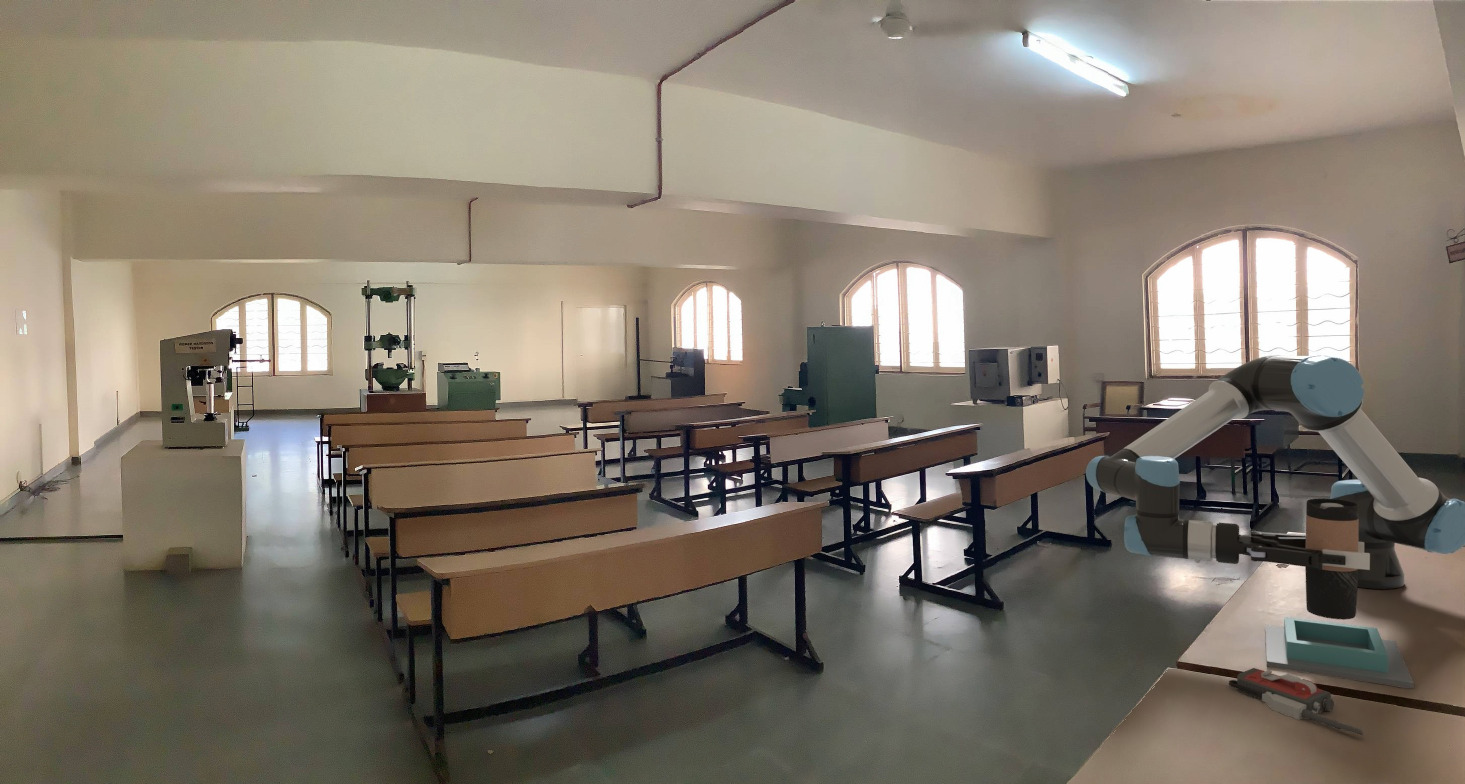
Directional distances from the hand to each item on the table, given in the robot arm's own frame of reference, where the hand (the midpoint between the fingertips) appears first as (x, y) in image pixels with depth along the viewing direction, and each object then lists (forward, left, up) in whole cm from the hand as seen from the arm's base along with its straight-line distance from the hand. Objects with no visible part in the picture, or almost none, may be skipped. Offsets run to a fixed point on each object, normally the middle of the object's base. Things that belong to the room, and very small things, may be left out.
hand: (1366, 555), depth 142 cm
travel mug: (0, -5, -11) cm, 12 cm away
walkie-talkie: (+25, -10, -20) cm, 34 cm away
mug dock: (0, -5, -19) cm, 20 cm away
